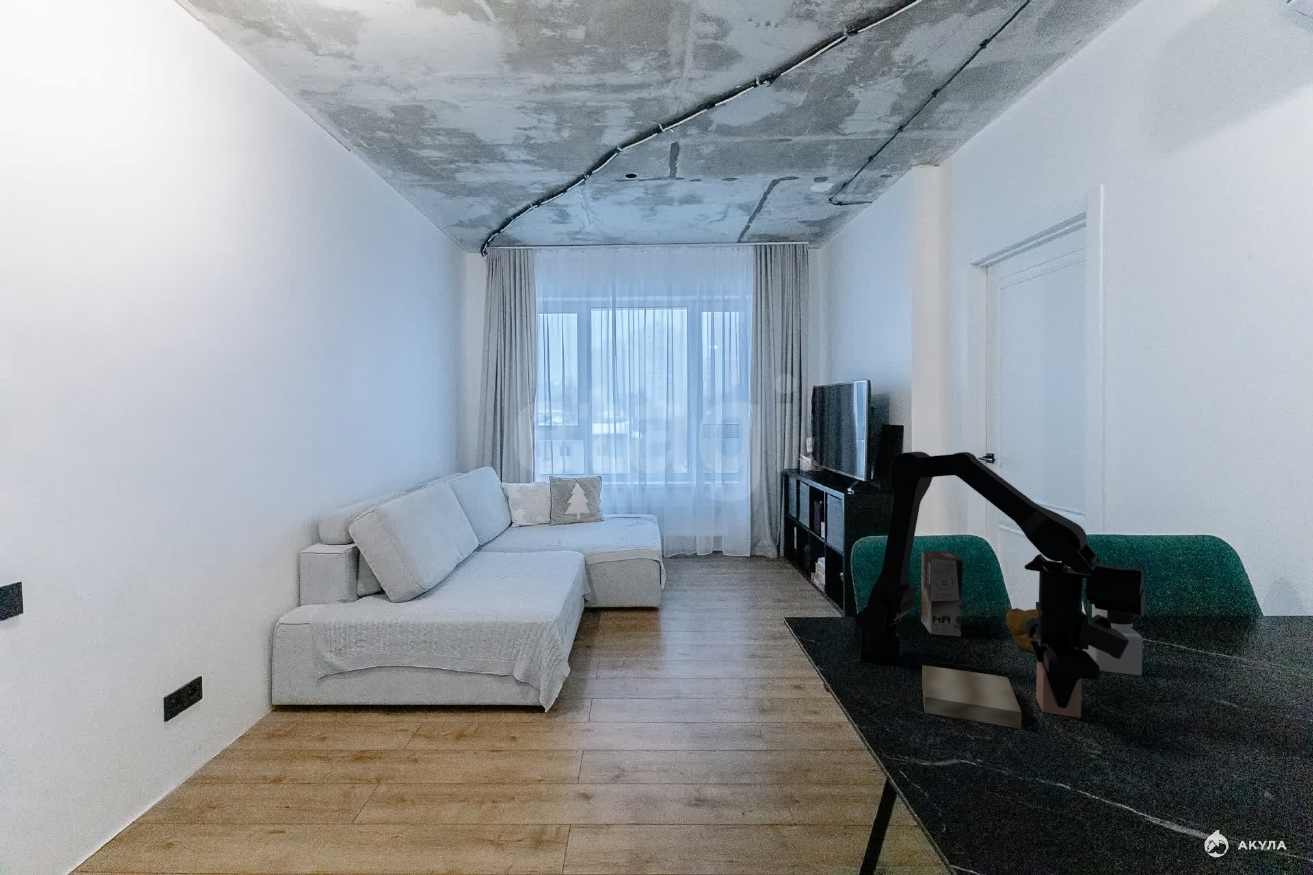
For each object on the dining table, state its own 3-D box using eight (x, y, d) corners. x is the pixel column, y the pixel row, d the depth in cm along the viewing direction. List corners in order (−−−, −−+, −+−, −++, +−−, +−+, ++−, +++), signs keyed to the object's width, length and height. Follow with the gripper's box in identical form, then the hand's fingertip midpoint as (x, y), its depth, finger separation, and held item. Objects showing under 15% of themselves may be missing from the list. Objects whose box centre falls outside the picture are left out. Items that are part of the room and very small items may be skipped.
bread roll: (1024, 632, 130) (1025, 595, 130) (1078, 645, 123) (1079, 605, 122) (1001, 647, 121) (1002, 607, 121) (1057, 662, 114) (1058, 619, 114)
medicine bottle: (1126, 661, 114) (1127, 597, 114) (1142, 676, 108) (1144, 609, 107) (1081, 656, 117) (1083, 594, 116) (1094, 670, 110) (1096, 605, 110)
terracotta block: (1042, 711, 94) (1043, 673, 94) (1036, 698, 99) (1036, 661, 99) (1080, 717, 93) (1081, 678, 92) (1072, 703, 97) (1073, 666, 97)
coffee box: (962, 636, 127) (964, 560, 126) (929, 634, 128) (930, 558, 128) (950, 622, 136) (952, 550, 135) (920, 620, 137) (921, 549, 137)
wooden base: (924, 712, 94) (924, 696, 94) (922, 679, 106) (922, 665, 106) (1021, 728, 89) (1021, 711, 89) (1006, 691, 101) (1007, 677, 101)
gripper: (1145, 627, 84) (1142, 739, 84) (1103, 591, 101) (1101, 684, 101) (1050, 617, 88) (1048, 723, 88) (1026, 584, 105) (1024, 673, 106)
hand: (1057, 699), depth 96 cm, fingers closed on terracotta block, 5 cm apart
